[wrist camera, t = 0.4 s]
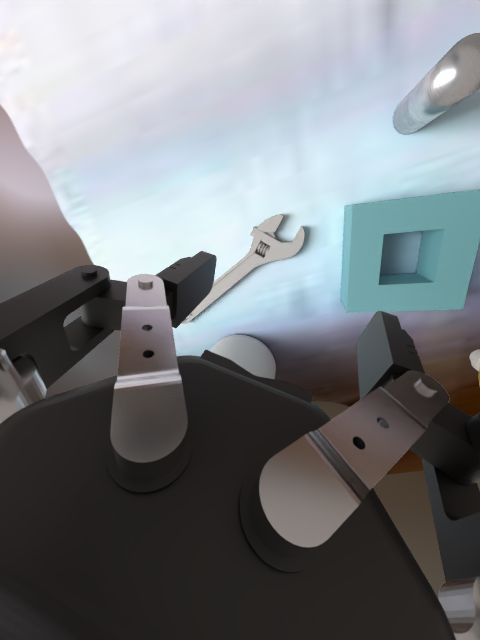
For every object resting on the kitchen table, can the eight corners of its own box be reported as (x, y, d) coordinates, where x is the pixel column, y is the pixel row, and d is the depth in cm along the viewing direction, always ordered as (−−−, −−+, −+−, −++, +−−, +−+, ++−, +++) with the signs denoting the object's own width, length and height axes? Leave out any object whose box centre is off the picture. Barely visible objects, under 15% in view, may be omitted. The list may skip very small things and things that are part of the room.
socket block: (344, 205, 32) (352, 204, 27) (462, 191, 29) (492, 187, 24) (340, 300, 37) (346, 312, 32) (440, 296, 34) (462, 309, 29)
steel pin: (395, 98, 27) (444, 40, 18) (432, 90, 26) (504, 26, 17) (391, 137, 28) (435, 102, 19) (426, 131, 27) (490, 91, 18)
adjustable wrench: (186, 323, 45) (182, 327, 43) (164, 295, 43) (159, 298, 42) (310, 243, 35) (310, 244, 33) (286, 203, 34) (285, 202, 32)
